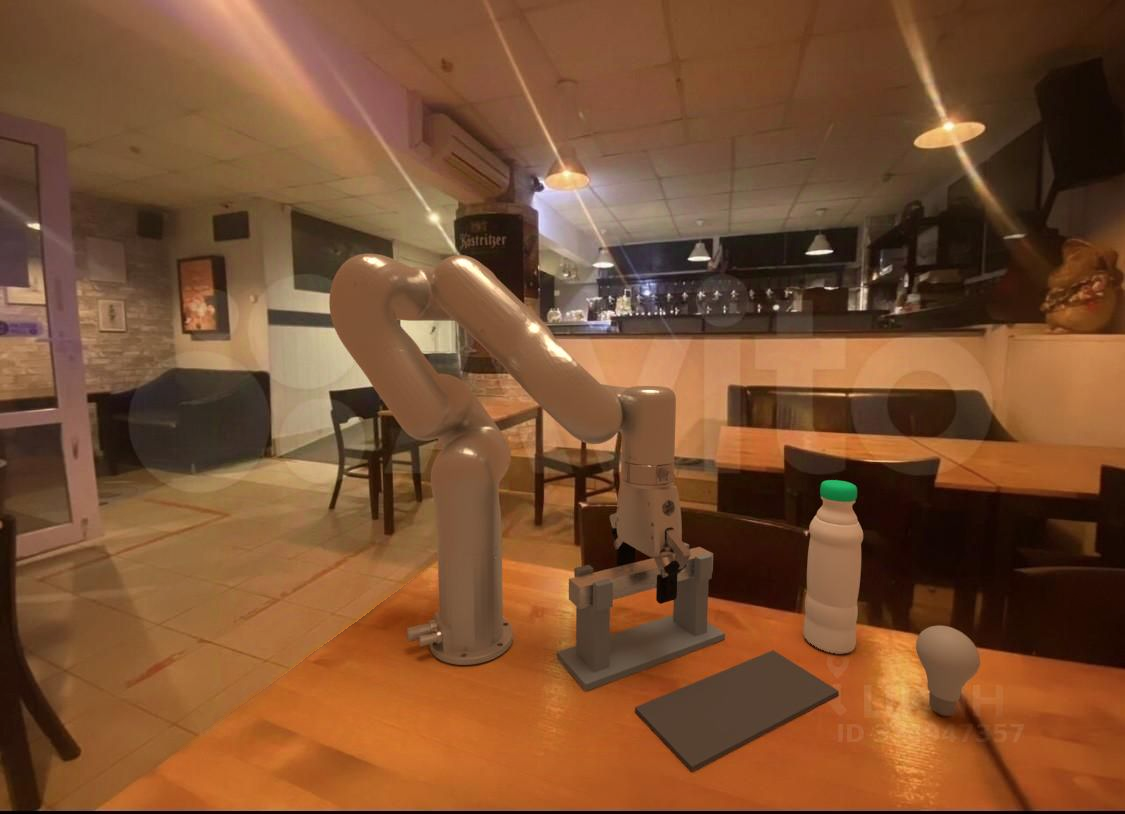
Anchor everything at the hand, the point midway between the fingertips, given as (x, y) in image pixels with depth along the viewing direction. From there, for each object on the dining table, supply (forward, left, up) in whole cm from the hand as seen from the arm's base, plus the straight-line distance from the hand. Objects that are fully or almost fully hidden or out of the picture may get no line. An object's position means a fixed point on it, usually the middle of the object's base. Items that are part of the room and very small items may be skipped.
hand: (644, 586), depth 73 cm
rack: (0, 0, -10) cm, 10 cm away
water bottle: (+26, -12, -10) cm, 30 cm away
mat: (+3, -15, -10) cm, 18 cm away
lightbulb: (+24, -28, -10) cm, 38 cm away
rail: (0, 0, 0) cm, 0 cm away
